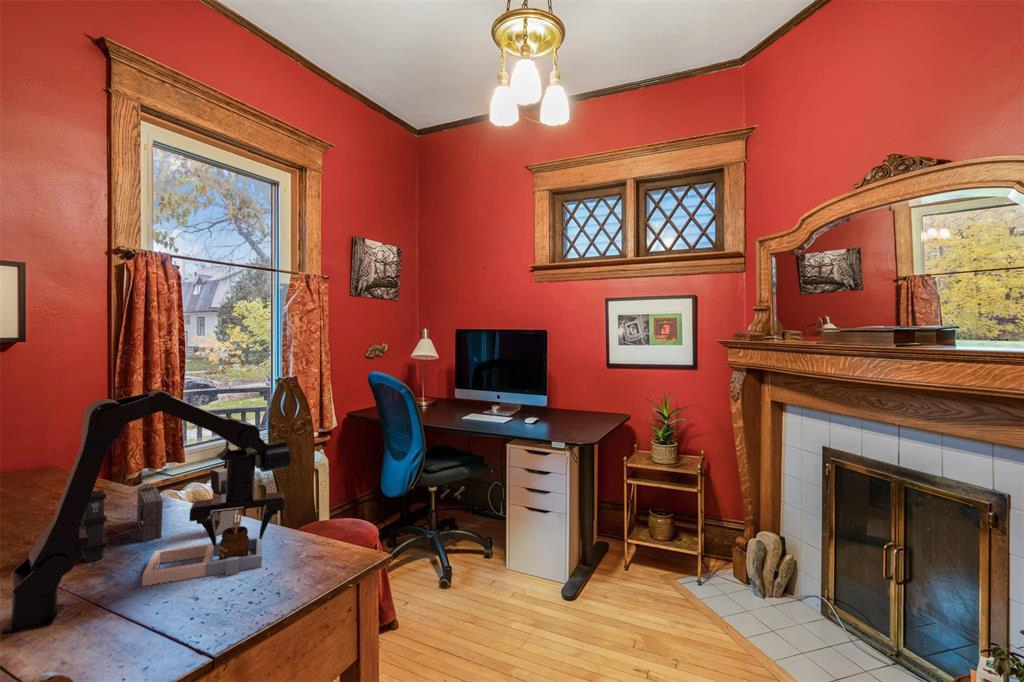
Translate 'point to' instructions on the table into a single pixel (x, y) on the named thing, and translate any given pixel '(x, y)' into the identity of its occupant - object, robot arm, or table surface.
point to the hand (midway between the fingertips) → (238, 542)
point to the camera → (149, 512)
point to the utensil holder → (234, 540)
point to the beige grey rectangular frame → (199, 569)
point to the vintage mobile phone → (220, 498)
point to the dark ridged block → (94, 526)
